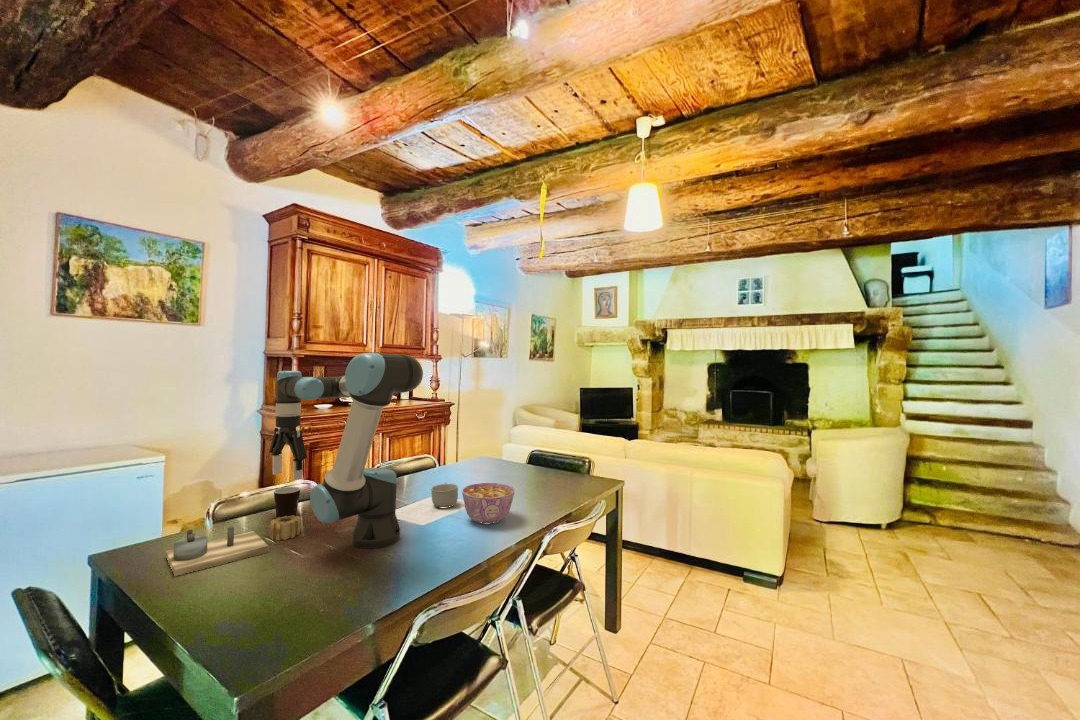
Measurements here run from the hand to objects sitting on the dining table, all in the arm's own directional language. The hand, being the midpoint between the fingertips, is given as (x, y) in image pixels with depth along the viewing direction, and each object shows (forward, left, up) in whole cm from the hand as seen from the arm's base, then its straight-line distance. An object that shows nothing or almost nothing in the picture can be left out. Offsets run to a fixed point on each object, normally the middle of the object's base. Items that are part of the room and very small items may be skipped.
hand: (286, 476), depth 150 cm
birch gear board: (-8, +21, -18) cm, 29 cm away
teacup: (-15, -55, -19) cm, 60 cm away
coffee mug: (+14, -5, -19) cm, 24 cm away
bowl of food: (-41, -56, -19) cm, 72 cm away
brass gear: (-5, +2, -18) cm, 19 cm away
